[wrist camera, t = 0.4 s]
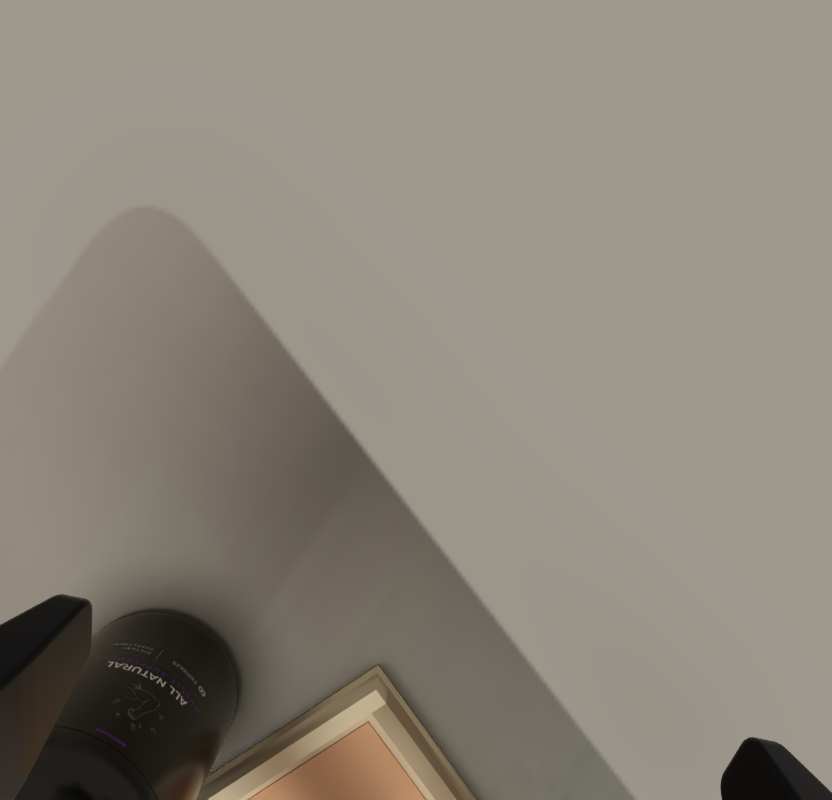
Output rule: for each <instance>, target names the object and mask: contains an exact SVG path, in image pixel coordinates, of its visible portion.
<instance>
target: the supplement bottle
mask: <svg viewBox="0 0 832 800" xmlns="http://www.w3.org/2000/svg"><path fill="white" fill-rule="evenodd" d="M236 705H237V682H236V676H235V672H234V669H233V666H232V664H231V661H230V659H229V657H228V655H227V654H226V652H225V650H224V649H223V648H222V646H221V645H220V643H219V642H218V641H217V640H216V639H215V638H214V637H213V636H212V635H211V634H210V633H209V632H207V631H206V630H205V629H203V628H202V627H201V626H199V625H197V624H196V623H194V622H192V621H190V620H187V619H185V618H182V617H179V616H176V615H172V614H166V613H140V614H135V615H131V616H128V617H124V618H122V619H119V620H117V621H115V622H113V623H111V624H109V625H108V626H106V627H105V628H103V629H102V630H100V631H99V632H98V633H97V634H95V635H94V636H93V637H92V638H91V650H90V654H89V658H88V660H87V663H86V665H85V667H84V669H83V671H82V673H81V675H80V677H79V679H78V681H77V682H76V684H75V686H74V688H73V690H72V692H71V694H70V696H69V698H68V700H67V702H66V704H65V706H64V708H63V710H62V711H61V713H60V715H59V717H58V719H57V721H56V723H55V725H54V727H53V729H52V731H51V733H50V735H49V737H48V739H47V740H46V742H45V744H44V746H43V748H42V750H41V752H40V754H39V756H38V758H37V760H36V762H35V764H34V765H33V767H32V769H31V771H30V773H29V775H28V776H27V778H26V780H25V782H24V784H23V785H22V787H21V789H20V790H19V792H18V793H17V795H16V797H15V798H14V800H196V798H197V796H198V794H199V792H200V790H201V788H202V785H203V783H204V781H205V779H206V777H207V775H208V773H209V771H210V769H211V767H212V765H213V763H214V761H215V758H216V756H217V754H218V752H219V750H220V748H221V746H222V744H223V742H224V739H225V737H226V735H227V733H228V731H229V728H230V726H231V723H232V721H233V718H234V714H235V711H236Z"/></svg>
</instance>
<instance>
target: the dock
mask: <svg viewBox="0 0 832 800" xmlns="http://www.w3.org/2000/svg"><path fill="white" fill-rule="evenodd" d="M196 800H476V798H475V797H474V796H473V794H472V793H471V791H470V790H469V789H468V787H467V786H466V785H465V783H464V782H463V780H462V779H461V778H460V776H459V775H458V774H457V772H456V771H455V769H454V768H453V767H452V765H451V764H450V763H449V761H448V760H447V759H446V757H445V756H444V754H443V753H442V752H441V750H440V749H439V748H438V746H437V745H436V743H435V742H434V741H433V739H432V738H431V737H430V735H429V734H428V733H427V731H426V730H425V728H424V727H423V726H422V724H421V723H420V722H419V720H418V719H417V717H416V716H415V715H414V713H413V712H412V711H411V709H410V708H409V706H408V705H407V704H406V702H405V701H404V700H403V698H402V697H401V696H400V694H399V693H398V691H397V690H396V689H395V687H394V686H393V685H392V683H391V682H390V680H389V679H388V678H387V676H386V675H385V674H384V672H383V671H382V669H381V668H380V667H379V665H378V666H376V667H374V668H373V669H371V670H370V671H368V672H367V673H365V674H364V675H362V676H361V677H359V678H358V679H356V680H355V681H353V682H352V683H350V684H348V685H347V686H345V687H344V688H342V689H341V690H339V691H338V692H336V693H335V694H333V695H332V696H330V697H329V698H327V699H326V700H324V701H322V702H321V703H319V704H318V705H316V706H315V707H313V708H312V709H310V710H309V711H307V712H306V713H304V714H303V715H301V716H300V717H298V718H296V719H295V720H293V721H292V722H290V723H289V724H287V725H286V726H284V727H283V728H281V729H280V730H278V731H277V732H275V733H274V734H272V735H270V736H269V737H267V738H266V739H264V740H263V741H261V742H260V743H258V744H257V745H255V746H254V747H252V748H251V749H249V750H248V751H246V752H244V753H243V754H241V755H240V756H238V757H237V758H235V759H234V760H232V761H231V762H229V763H228V764H226V765H225V766H223V767H222V768H220V769H218V770H217V771H215V772H214V773H212V774H211V775H209V776H208V777H206V779H205V781H204V783H203V785H202V788H201V790H200V792H199V794H198V796H197V798H196Z"/></svg>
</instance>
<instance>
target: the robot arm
mask: <svg viewBox="0 0 832 800" xmlns="http://www.w3.org/2000/svg"><path fill="white" fill-rule="evenodd" d="M91 637H92V605H91V603H90V601H88V600H87V599H83V598H78V597H73V596H69V595H64V594H61V595H56V596H53V597H51V598H49V599H47V600H45V601H44V602H42V603H40V604H38V605H36V606H34V607H32V608H31V609H29V610H27V611H25V612H23V613H21V614H19V615H18V616H16V617H14V618H12V619H10V620H8V621H6V622H5V623H3V624H1V625H0V800H14V798H15V797H16V795H17V793H18V792H19V790H20V789H21V787H22V785H23V784H24V782H25V780H26V778H27V776H28V775H29V773H30V771H31V769H32V767H33V765H34V764H35V762H36V760H37V758H38V756H39V754H40V752H41V750H42V748H43V746H44V744H45V742H46V740H47V739H48V737H49V735H50V733H51V731H52V729H53V727H54V725H55V723H56V721H57V719H58V717H59V715H60V713H61V711H62V710H63V708H64V706H65V704H66V702H67V700H68V698H69V696H70V694H71V692H72V690H73V688H74V686H75V684H76V682H77V681H78V679H79V677H80V675H81V673H82V671H83V669H84V667H85V665H86V663H87V660H88V658H89V654H90V650H91ZM721 796H722V800H832V792H830V791H829V790H828V789H827V788H826V787H825V786H824V785H823V784H822V783H821V782H820V781H819V780H818V779H817V778H816V777H815V776H814V775H813V774H812V773H811V772H809V770H808V769H807V768H805V766H803V765H802V764H801V763H800V762H799V761H798V760H797V759H796V758H795V757H794V756H793V755H792V754H791V753H790V752H789V751H788V750H787V749H786V748H785V747H783V746H782V745H781V744H779V743H777V742H774V741H769V740H764V739H759V738H754V737H750V738H748V739H746V740H744V741H743V743H742V744H741V746H740V747H739V749H738V750H737V752H736V754H735V755H734V757H733V759H732V760H731V762H730V763H729V765H728V767H727V768H726V770H725V771H724V773H723V776H722V779H721Z"/></svg>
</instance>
